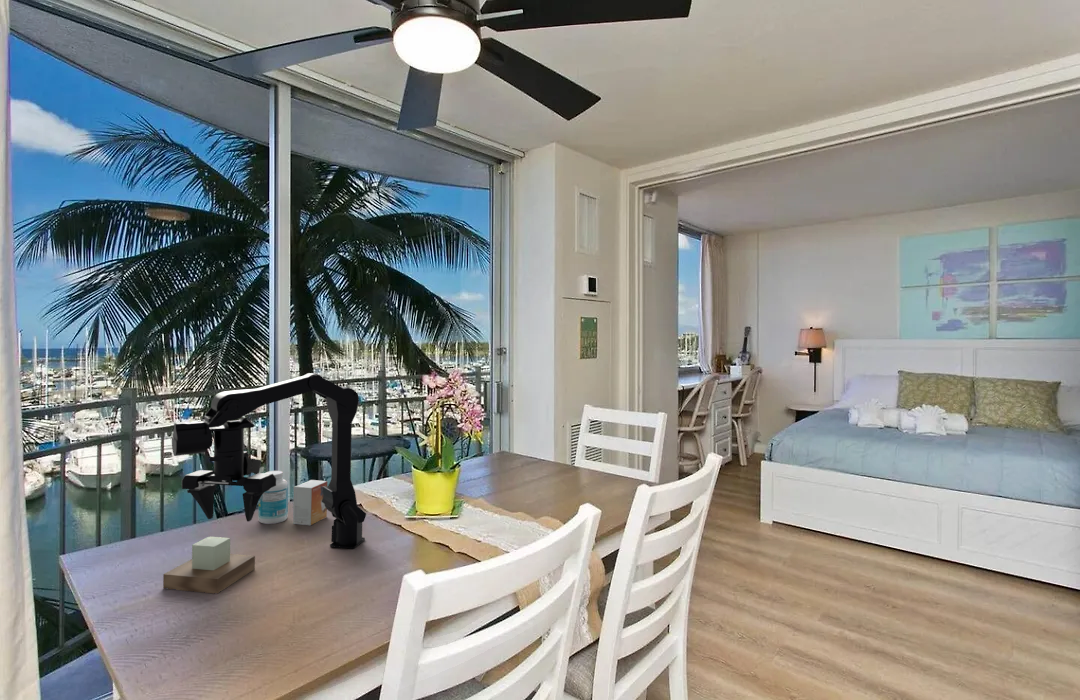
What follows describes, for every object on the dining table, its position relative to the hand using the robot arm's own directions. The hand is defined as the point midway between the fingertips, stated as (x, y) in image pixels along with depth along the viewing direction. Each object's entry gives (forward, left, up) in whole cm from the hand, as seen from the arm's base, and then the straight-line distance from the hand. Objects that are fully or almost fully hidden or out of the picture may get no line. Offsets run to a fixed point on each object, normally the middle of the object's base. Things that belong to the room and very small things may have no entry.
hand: (229, 519), depth 123 cm
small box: (0, -34, -12) cm, 36 cm away
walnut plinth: (+1, +4, -12) cm, 12 cm away
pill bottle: (+10, -32, -12) cm, 36 cm away
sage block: (+1, +4, -9) cm, 9 cm away
